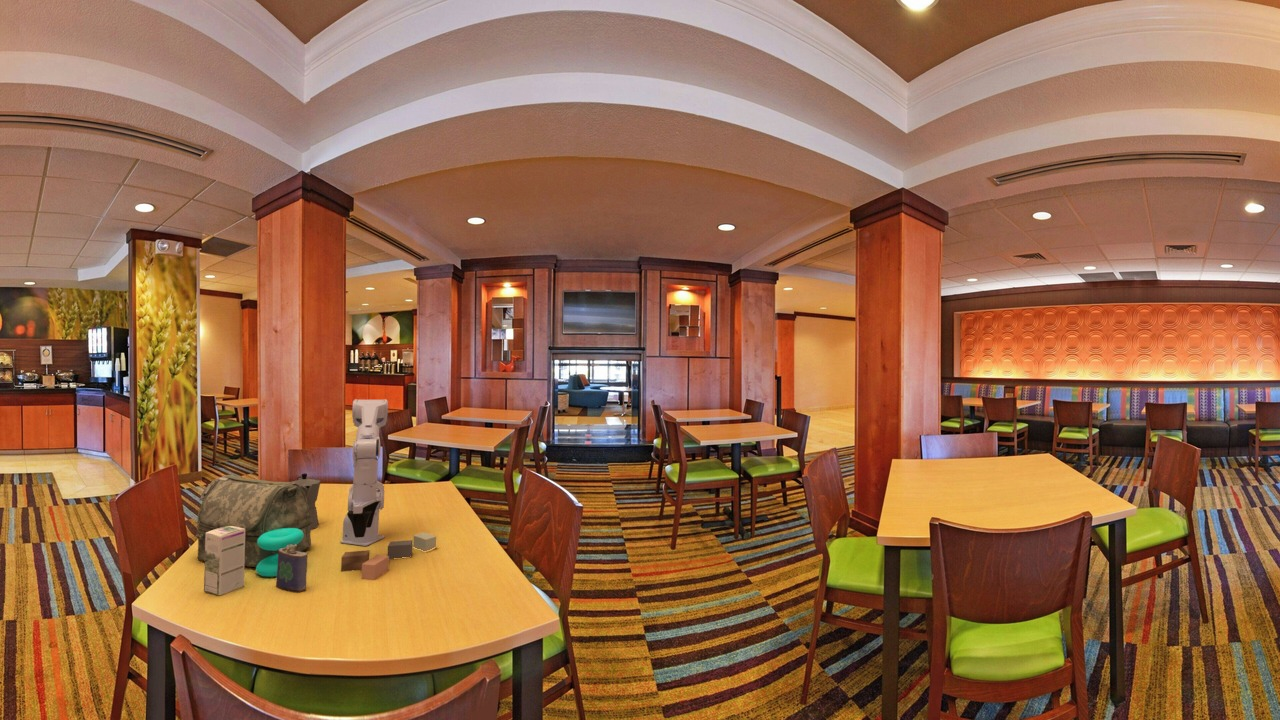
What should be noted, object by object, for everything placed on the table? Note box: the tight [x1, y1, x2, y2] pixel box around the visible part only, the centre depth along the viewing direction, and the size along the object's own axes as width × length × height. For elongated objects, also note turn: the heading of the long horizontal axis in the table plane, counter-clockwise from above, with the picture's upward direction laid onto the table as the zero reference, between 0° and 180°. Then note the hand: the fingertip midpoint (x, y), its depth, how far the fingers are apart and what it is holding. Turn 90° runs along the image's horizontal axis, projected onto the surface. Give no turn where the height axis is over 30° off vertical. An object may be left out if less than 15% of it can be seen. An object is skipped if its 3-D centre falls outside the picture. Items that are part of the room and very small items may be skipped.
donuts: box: [255, 528, 304, 578], centre depth 129 cm, size 10×10×10 cm
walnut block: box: [340, 549, 370, 572], centre depth 132 cm, size 6×4×4 cm, turn 108°
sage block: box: [412, 531, 437, 551], centre depth 147 cm, size 6×4×4 cm, turn 58°
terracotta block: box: [360, 554, 390, 581], centre depth 129 cm, size 6×4×4 cm, turn 173°
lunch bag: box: [195, 473, 312, 568], centre depth 138 cm, size 26×18×22 cm
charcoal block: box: [386, 539, 413, 560], centre depth 141 cm, size 6×4×4 cm, turn 108°
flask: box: [275, 544, 308, 593], centre depth 120 cm, size 9×3×11 cm, turn 68°
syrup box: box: [203, 526, 245, 596], centre depth 118 cm, size 6×6×14 cm
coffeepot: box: [291, 473, 321, 531], centre depth 161 cm, size 15×9×18 cm, turn 44°
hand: (363, 532), depth 133 cm, fingers open, 7 cm apart
